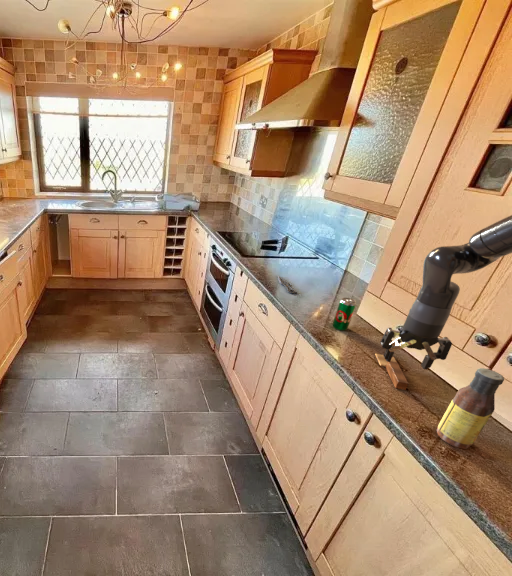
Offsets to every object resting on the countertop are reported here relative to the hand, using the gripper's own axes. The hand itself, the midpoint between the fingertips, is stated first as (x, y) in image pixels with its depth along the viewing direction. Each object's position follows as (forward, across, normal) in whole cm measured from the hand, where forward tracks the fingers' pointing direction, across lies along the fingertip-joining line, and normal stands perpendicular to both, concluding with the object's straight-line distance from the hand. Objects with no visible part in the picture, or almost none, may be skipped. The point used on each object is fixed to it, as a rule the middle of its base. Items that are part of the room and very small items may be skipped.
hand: (405, 363), depth 90 cm
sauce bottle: (+6, +6, -20) cm, 21 cm away
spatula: (+6, -1, +3) cm, 7 cm away
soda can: (+6, -12, +25) cm, 29 cm away
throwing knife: (+6, -31, +59) cm, 67 cm away
